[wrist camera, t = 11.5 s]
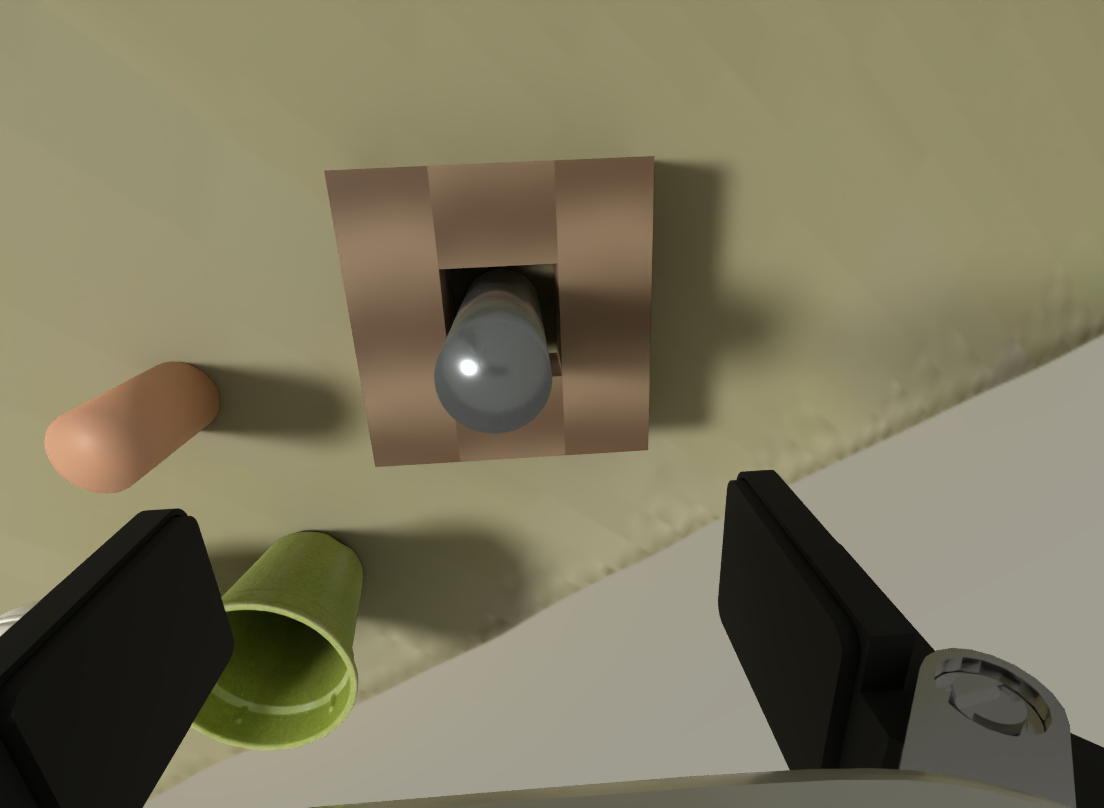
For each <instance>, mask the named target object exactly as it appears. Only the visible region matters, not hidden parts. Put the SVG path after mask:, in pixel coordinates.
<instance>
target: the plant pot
mask: <svg viewBox="0 0 1104 808" xmlns="http://www.w3.org/2000/svg"><path fill="white" fill-rule="evenodd" d="M362 583H363V569H362V565H361V563H360V560H359V559H358V557H357V555H356V554H355V553H354V551H353V550H352V549H351V548H349V547H347V546H345V545H343V544H341V543H339V542H338V541H336V540H335V539H333V538H332V537H331V536H329V535H327V534H323V533H319V532H298V533H293V534H290V535H287V536H285V537H283V538H281V539H279V540H278V541H276V542H275V543H274V544H273V545H272V546H271V547H270V548H269V549H268V550H267V551H266V552H265V553H264V554H263V555H262V556H261V557H260V558H259V559H258V560H257V561H256V562H255V563H254V565H253V566H252V567H251V568H250V569H249V570H248V571H247V572H246V573H245V574H244V575H243V576H242V577H241V578H240V579H239V580H238V581H237V582H236V583H235V584H234V585H233V586H232V587H231V588H230V589H229V590H228V591H227V592H226V593H225V594H224V595H223V596H222V597H221V598H222V601H223V605H224V608H225V611H226V614H227V617H228V621H229V624H230V627H231V630H232V633H233V637H234V649H233V653H232V657H231V659H230V661H229V662H228V664H227V666H226V668H225V669H224V671H223V673H222V674H221V676H220V678H219V679H218V681H217V683H216V684H215V686H214V688H213V689H212V691H211V693H210V695H209V696H208V698H207V700H206V701H205V703H204V705H203V706H202V708H201V710H200V711H199V713H198V715H197V717H196V718H195V720H194V722H193V723H192V725H191V727H192V728H194V729H195V730H197V731H199V732H200V733H202V734H204V735H206V736H208V737H210V738H212V739H214V740H217V741H219V742H222V743H226V744H228V745H233V746H239V747H243V748H248V749H255V750H280V749H289V748H295V747H300V746H302V745H305V744H307V743H311V742H314V741H317V740H319V739H321V738H323V737H325V736H326V735H328V734H329V733H330V732H332V731H333V730H334V729H336V728H337V727H338V726H339V725H340V724H341V723H342V722H343V721H344V720H345V719H346V718H347V716H348V715H349V713H350V711H351V710H352V708H353V706H354V703H355V700H356V696H357V690H358V673H357V668H356V665H355V662H354V654H353V649H352V646H353V639H354V633H355V627H356V620H357V614H358V608H359V603H360V597H361V590H362Z"/></svg>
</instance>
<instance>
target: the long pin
mask: <svg viewBox="0 0 1104 808" xmlns="http://www.w3.org/2000/svg"><path fill="white" fill-rule="evenodd" d="M434 383H435V389H436V392H437V395H438V398H439V400H440V402H441V404H442V406H443V407H444V409H445V410H446V411H447V412H448V414H449V415H450V416H451V417H452V418H454V419H455V420H456V421H457V422H459V423H460V424H462V425H463V426H465V427H467V428H469V429H472V430H475V431H478V432H482V433H490V434H499V433H506V432H510V431H514V430H516V429H519V428H521V427H523V426H525V425H526V424H528V423H529V422H531V421H532V420H533V419H534V418H535V417H537V415H538V414H539V413H540V412H541V411H542V409H543V408H544V406H545V405H546V403H547V400H548V398H549V395H550V392H551V387H552V371H551V365H550V359H549V354H548V348H547V342H546V337H545V331H544V326H543V320H542V315H541V309H540V303H539V299H538V295H537V292H536V290H535V288H534V287H533V285H532V284H531V283H530V282H529V281H528V280H527V279H526V278H525V277H524V276H522V275H521V274H519V273H517V272H514V271H511V270H506V269H496V270H491V271H488V272H486V273H484V274H482V275H480V276H479V277H478V278H476V279H475V280H474V281H473V283H472V284H471V285H470V287H469V289H468V291H467V293H466V295H465V298H464V300H463V302H462V304H461V307H460V309H459V311H458V313H457V316H456V318H455V320H454V322H453V325H452V327H451V329H450V331H449V334H448V336H447V338H446V340H445V343H444V345H443V347H442V349H441V352H440V354H439V356H438V359H437V361H436V366H435V372H434Z"/></svg>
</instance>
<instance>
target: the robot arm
mask: <svg viewBox="0 0 1104 808" xmlns="http://www.w3.org/2000/svg"><path fill="white" fill-rule="evenodd" d="M718 607H719V614H720V618H721V621H722V624H723V626H724V628H725V630H726V632H727V635H728V637H729V639H730V641H731V643H732V645H733V648H734V650H735V652H736V654H737V656H738V659H739V661H740V663H741V665H742V667H743V669H744V671H745V674H746V676H747V678H748V680H749V682H750V684H751V687H752V689H753V691H754V693H755V695H756V698H757V700H758V702H759V704H760V706H761V708H762V711H763V713H764V715H765V717H766V719H767V722H768V724H769V726H770V728H771V730H772V732H773V735H774V737H775V739H776V741H777V743H778V745H779V748H780V750H781V752H782V754H783V756H784V759H785V761H786V763H787V765H788V767H789V769H790V770H788V771H772V772H755V773H738V774H722V775H706V776H689V777H677V778H665V779H651V780H639V781H626V782H613V783H602V784H588V785H575V786H563V787H550V788H538V789H526V790H512V791H500V792H488V793H476V794H465V795H452V796H441V797H429V798H416V799H405V800H394V801H381V802H369V803H358V804H346V805H335V806H323V807H312V808H1104V748H1103V747H1101V746H1099V745H1097V744H1094V743H1092V742H1090V741H1087V740H1085V739H1083V738H1081V737H1078V736H1076V735H1074V734H1072V733H1070V725H1069V721H1068V718H1067V715H1066V713H1065V709H1064V708H1063V707H1062V705H1061V704H1060V703H1059V701H1058V700H1057V699H1056V697H1055V696H1054V695H1053V693H1052V692H1050V691H1049V690H1048V689H1047V688H1046V687H1045V686H1044V685H1043V684H1041V683H1040V682H1039V681H1038V680H1037V679H1036V678H1034V677H1033V676H1031V675H1030V674H1028V673H1026V672H1025V671H1023V670H1022V669H1020V668H1018V667H1017V666H1015V665H1013V664H1011V663H1009V662H1006V661H1004V660H1002V659H999V658H997V657H995V656H993V655H989V654H985V653H982V652H978V651H974V650H969V649H958V648H949V649H943V650H937V651H934V649H933V648H932V647H931V646H930V645H929V644H928V643H927V641H926V640H925V639H924V638H923V637H922V636H921V635H920V634H919V632H918V631H917V630H916V629H915V628H914V627H913V626H912V624H911V623H910V622H909V621H908V620H907V619H906V618H905V617H904V615H903V614H902V613H901V612H900V611H899V610H898V609H897V608H896V606H895V605H894V604H893V603H892V602H891V601H890V600H889V598H888V597H887V596H886V595H885V594H884V593H883V592H882V591H881V589H880V588H879V587H878V586H877V585H876V584H875V583H874V581H873V580H872V579H871V578H870V577H869V576H868V575H867V573H866V572H865V571H864V570H863V569H862V568H861V567H860V565H859V564H858V563H857V562H856V561H855V560H854V559H853V557H852V556H851V555H850V554H849V553H848V552H847V551H846V550H845V549H844V547H843V546H842V545H841V544H839V543H838V542H837V541H836V540H835V539H834V538H833V537H832V536H831V534H830V533H829V532H828V531H827V530H826V529H825V528H824V526H823V525H822V524H821V523H820V522H819V521H818V519H817V518H816V517H815V516H814V515H813V514H812V513H811V512H810V510H809V509H808V508H807V507H806V506H805V505H804V504H803V502H802V501H801V500H800V499H799V498H798V497H797V496H796V495H795V493H794V492H793V491H792V490H791V489H790V488H789V486H788V485H787V484H786V483H785V482H784V481H783V480H782V478H781V477H780V476H779V475H778V474H777V473H776V472H775V471H774V470H761V471H746V472H740V473H739V474H738V477H737V480H731V481H730V482H729V483H728V487H727V496H726V509H725V521H724V534H723V546H722V559H721V571H720V583H719V596H718ZM233 649H234V637H233V633H232V630H231V627H230V624H229V621H228V617H227V614H226V611H225V608H224V605H223V601H222V598H221V595H220V592H219V589H218V586H217V582H216V579H215V576H214V573H213V570H212V566H211V563H210V560H209V557H208V554H207V551H206V547H205V544H204V541H203V538H202V535H201V532H200V528H199V525H198V523H197V521H196V519H195V518H194V517H192V516H187V514H186V513H185V512H184V511H183V510H181V509H179V508H178V509H162V510H147V511H142V512H140V513H138V514H137V515H136V516H135V517H133V518H132V519H131V520H130V521H129V522H128V523H127V524H126V525H124V526H123V527H122V528H121V529H120V530H119V531H118V532H117V533H116V534H114V535H113V536H112V537H111V538H110V539H109V540H108V541H107V542H105V543H104V544H103V545H102V546H101V547H100V548H99V549H98V550H96V551H95V552H94V553H93V554H92V555H91V556H90V557H89V558H87V559H86V560H85V561H84V562H83V563H82V564H81V565H80V566H79V567H77V568H76V569H75V570H74V571H73V572H72V573H71V574H70V575H68V576H67V577H66V578H65V579H64V580H63V581H62V582H61V583H59V584H58V585H57V586H56V587H55V588H54V589H53V590H52V591H50V592H49V593H48V594H47V595H46V596H45V597H44V598H43V599H42V600H40V601H39V602H38V603H37V604H36V605H35V606H34V607H33V608H31V609H30V610H29V611H28V612H27V613H26V614H25V615H24V616H22V617H21V618H20V619H19V620H18V621H17V622H16V623H15V624H13V625H12V626H11V627H10V628H9V629H8V630H7V631H6V632H5V633H3V634H2V635H1V636H0V808H143V806H144V804H145V803H146V801H147V799H148V798H149V796H150V794H151V793H152V791H153V789H154V787H155V786H156V784H157V782H158V781H159V779H160V777H161V776H162V774H163V772H164V771H165V769H166V767H167V766H168V764H169V762H170V760H171V759H172V757H173V755H174V754H175V752H176V750H177V749H178V747H179V745H180V744H181V742H182V740H183V738H184V737H185V735H186V733H187V732H188V730H189V728H190V727H191V725H192V723H193V722H194V720H195V718H196V717H197V715H198V713H199V711H200V710H201V708H202V706H203V705H204V703H205V701H206V700H207V698H208V696H209V695H210V693H211V691H212V689H213V688H214V686H215V684H216V683H217V681H218V679H219V678H220V676H221V674H222V673H223V671H224V669H225V668H226V666H227V664H228V662H229V661H230V659H231V657H232V653H233Z"/></svg>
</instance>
